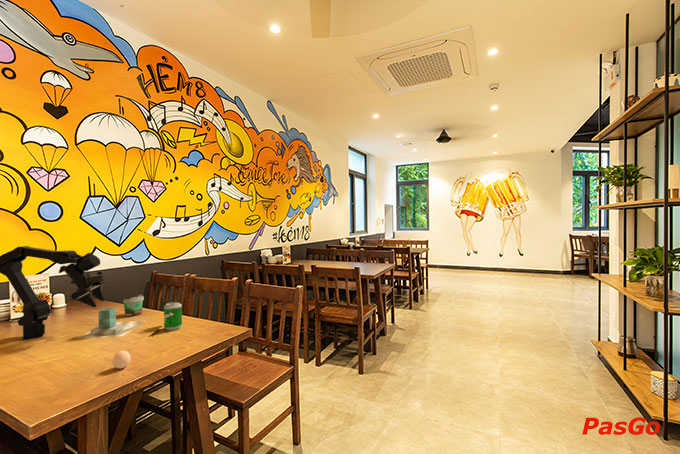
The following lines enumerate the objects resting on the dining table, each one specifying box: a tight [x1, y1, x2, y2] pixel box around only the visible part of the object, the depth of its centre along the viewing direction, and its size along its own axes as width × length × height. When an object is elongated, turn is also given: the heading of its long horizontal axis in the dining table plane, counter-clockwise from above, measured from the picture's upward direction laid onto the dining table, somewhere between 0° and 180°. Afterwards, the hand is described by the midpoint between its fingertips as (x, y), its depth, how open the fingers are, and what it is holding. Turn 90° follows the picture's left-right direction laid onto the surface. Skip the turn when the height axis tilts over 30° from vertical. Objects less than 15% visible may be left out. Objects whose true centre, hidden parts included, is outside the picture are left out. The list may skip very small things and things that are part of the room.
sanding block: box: [89, 307, 124, 336], centre depth 138 cm, size 10×6×10 cm, turn 98°
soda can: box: [163, 301, 183, 332], centre depth 147 cm, size 8×8×12 cm
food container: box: [122, 294, 145, 318], centre depth 171 cm, size 12×6×10 cm, turn 179°
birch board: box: [76, 320, 147, 340], centre depth 143 cm, size 18×22×2 cm
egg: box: [112, 350, 131, 370], centre depth 106 cm, size 5×5×6 cm
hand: (99, 303), depth 143 cm, fingers open, 9 cm apart
